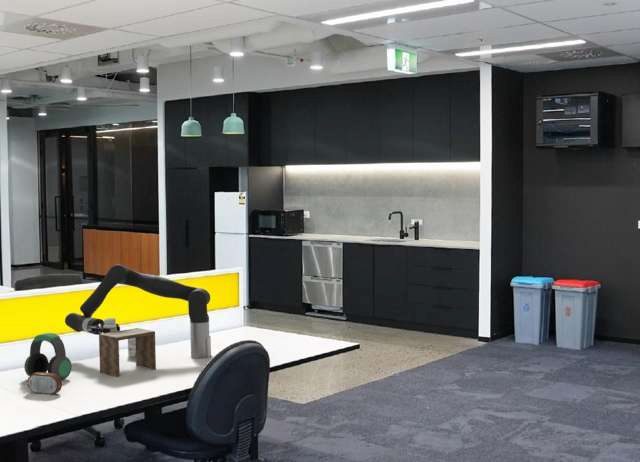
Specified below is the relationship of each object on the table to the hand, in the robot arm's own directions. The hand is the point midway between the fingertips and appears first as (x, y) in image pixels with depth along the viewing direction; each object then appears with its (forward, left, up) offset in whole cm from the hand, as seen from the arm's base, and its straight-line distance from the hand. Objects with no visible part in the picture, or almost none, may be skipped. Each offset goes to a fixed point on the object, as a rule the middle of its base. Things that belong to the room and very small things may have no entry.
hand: (112, 329), depth 371 cm
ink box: (-2, -26, -18) cm, 32 cm away
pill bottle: (+2, -2, -7) cm, 7 cm away
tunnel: (-9, +7, -18) cm, 21 cm away
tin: (+11, +49, -18) cm, 53 cm away
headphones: (+21, +24, -18) cm, 36 cm away
